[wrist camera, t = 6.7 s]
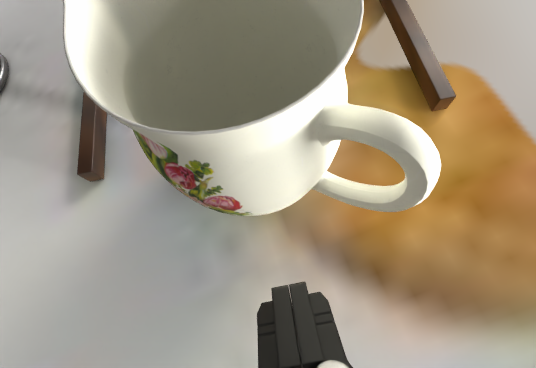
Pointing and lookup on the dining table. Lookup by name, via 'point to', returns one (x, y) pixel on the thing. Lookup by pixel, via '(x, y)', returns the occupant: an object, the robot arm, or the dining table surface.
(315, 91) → the pitcher
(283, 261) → the dining table surface
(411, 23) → the bay
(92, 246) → the dining table surface
